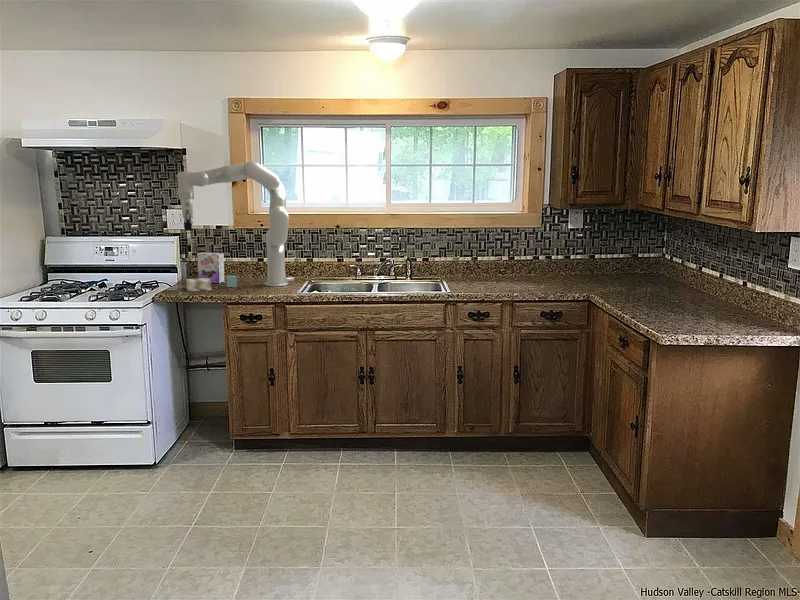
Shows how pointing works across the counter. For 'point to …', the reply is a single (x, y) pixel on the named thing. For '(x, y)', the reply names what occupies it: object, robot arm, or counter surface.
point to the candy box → (211, 266)
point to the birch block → (198, 284)
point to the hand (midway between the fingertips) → (187, 229)
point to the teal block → (231, 281)
